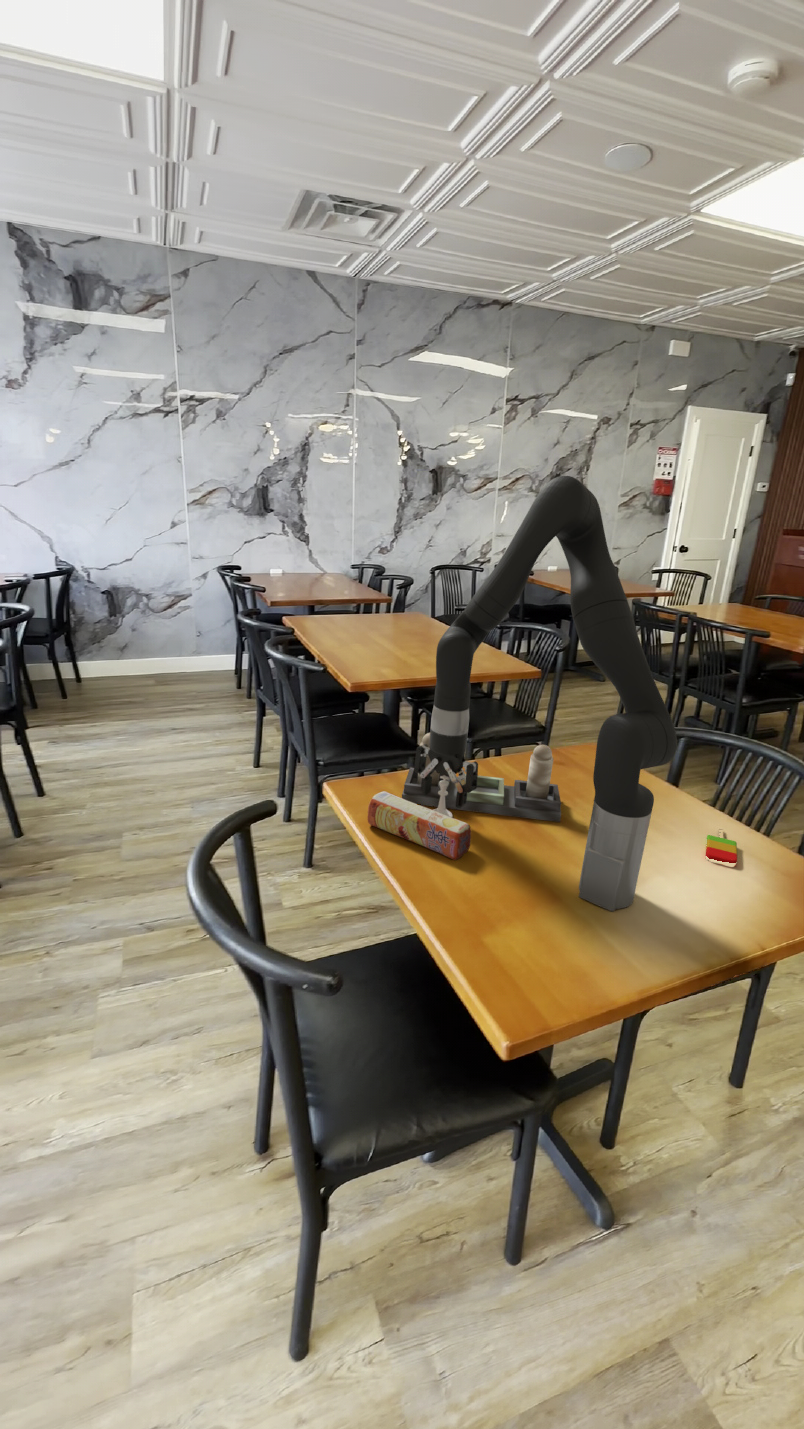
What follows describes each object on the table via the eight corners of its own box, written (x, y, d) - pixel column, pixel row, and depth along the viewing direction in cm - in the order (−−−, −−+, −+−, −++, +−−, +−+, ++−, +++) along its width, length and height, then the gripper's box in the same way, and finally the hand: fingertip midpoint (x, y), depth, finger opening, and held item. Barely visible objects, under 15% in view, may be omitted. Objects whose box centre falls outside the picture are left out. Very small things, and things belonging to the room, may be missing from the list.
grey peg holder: (555, 799, 148) (565, 738, 143) (559, 822, 138) (570, 757, 133) (408, 781, 152) (412, 722, 147) (401, 802, 142) (405, 739, 137)
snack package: (472, 850, 125) (475, 819, 123) (454, 865, 120) (457, 832, 117) (383, 815, 136) (385, 786, 134) (364, 827, 131) (365, 796, 129)
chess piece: (450, 824, 134) (455, 780, 130) (427, 820, 135) (431, 776, 131) (453, 813, 138) (458, 770, 135) (431, 810, 139) (434, 767, 136)
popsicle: (704, 862, 126) (706, 854, 126) (706, 830, 139) (708, 822, 139) (735, 871, 124) (738, 862, 124) (734, 837, 137) (736, 829, 137)
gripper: (489, 732, 129) (481, 805, 134) (431, 714, 137) (425, 783, 142) (469, 742, 123) (461, 818, 129) (409, 722, 131) (404, 794, 137)
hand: (442, 800), depth 135 cm, fingers open, 8 cm apart
